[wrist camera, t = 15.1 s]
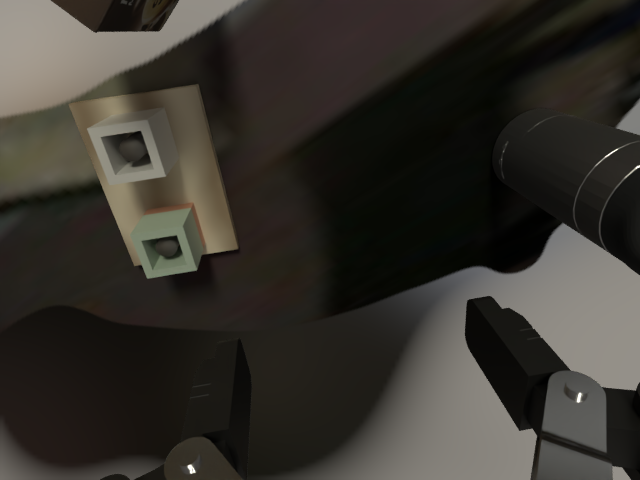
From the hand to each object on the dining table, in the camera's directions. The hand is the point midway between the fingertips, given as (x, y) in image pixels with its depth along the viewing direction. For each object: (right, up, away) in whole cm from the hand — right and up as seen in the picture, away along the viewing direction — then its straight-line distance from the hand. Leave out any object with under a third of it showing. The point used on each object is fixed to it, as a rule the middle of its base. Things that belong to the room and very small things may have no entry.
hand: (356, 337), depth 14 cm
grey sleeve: (-18, +14, +26) cm, 34 cm away
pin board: (-18, +10, +29) cm, 36 cm away
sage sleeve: (-17, +5, +30) cm, 35 cm away
